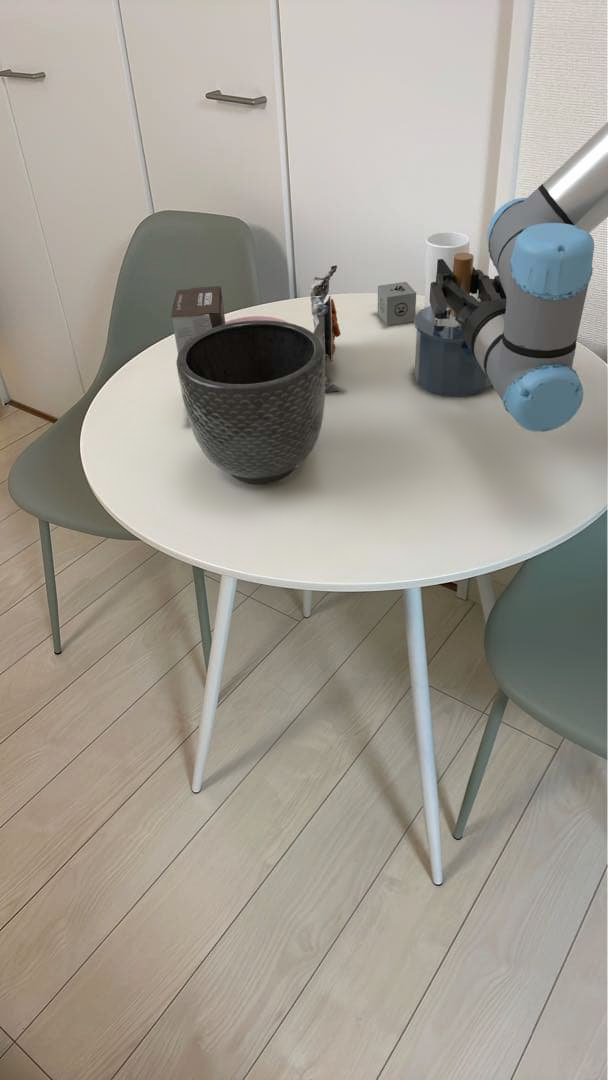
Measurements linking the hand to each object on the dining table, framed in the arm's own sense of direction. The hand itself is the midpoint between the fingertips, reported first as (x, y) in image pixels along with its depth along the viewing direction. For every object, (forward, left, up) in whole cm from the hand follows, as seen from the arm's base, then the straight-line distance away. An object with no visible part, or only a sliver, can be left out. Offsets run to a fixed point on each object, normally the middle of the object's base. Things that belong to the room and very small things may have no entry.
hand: (450, 267), depth 107 cm
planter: (+30, +22, -15) cm, 40 cm away
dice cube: (+4, -17, -15) cm, 22 cm away
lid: (0, +5, -6) cm, 8 cm away
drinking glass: (-2, -10, -15) cm, 18 cm away
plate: (+29, -12, -15) cm, 34 cm away
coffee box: (+36, +6, -15) cm, 39 cm away
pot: (0, +5, -14) cm, 15 cm away
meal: (+18, -2, -15) cm, 23 cm away
